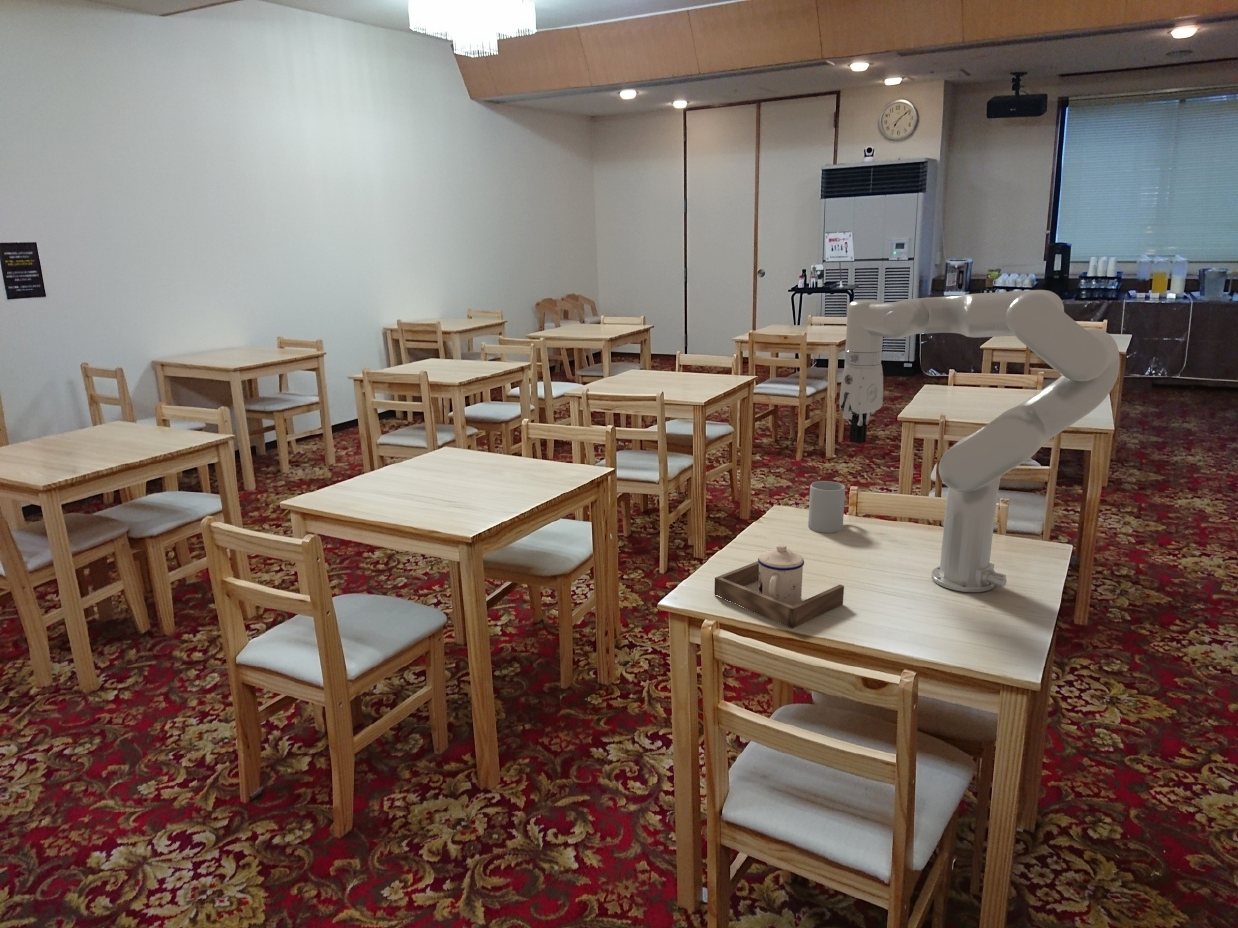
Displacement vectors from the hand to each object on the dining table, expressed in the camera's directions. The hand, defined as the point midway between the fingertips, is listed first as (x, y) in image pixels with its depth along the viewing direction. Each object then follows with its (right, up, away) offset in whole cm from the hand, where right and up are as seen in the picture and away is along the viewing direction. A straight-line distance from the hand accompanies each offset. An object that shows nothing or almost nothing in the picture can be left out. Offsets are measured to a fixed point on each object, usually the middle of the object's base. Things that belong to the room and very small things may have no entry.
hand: (857, 441), depth 187 cm
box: (-20, -32, -15) cm, 41 cm away
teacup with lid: (-21, -33, -16) cm, 42 cm away
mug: (+1, -21, +28) cm, 35 cm away
